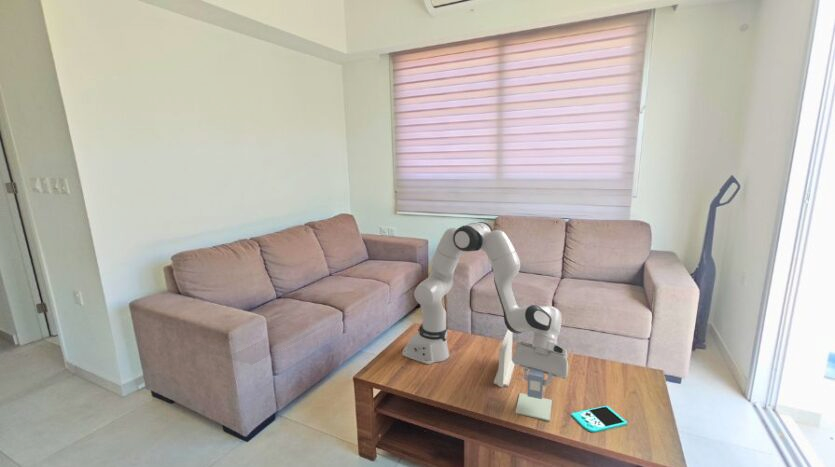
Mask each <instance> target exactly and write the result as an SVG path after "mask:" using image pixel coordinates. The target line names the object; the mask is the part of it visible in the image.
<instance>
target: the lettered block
mask: <svg viewBox="0 0 835 467" xmlns="http://www.w3.org/2000/svg"><path fill="white" fill-rule="evenodd" d="M527 375H528V381H527V395H528V396H529V397H533V398H538V399H542V398H543V393H544V392H543V391H544V386H543V380H545V379H544V376H545V373H544V371H541V370H537V369H534V368H530V369H528V373H527Z"/></svg>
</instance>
